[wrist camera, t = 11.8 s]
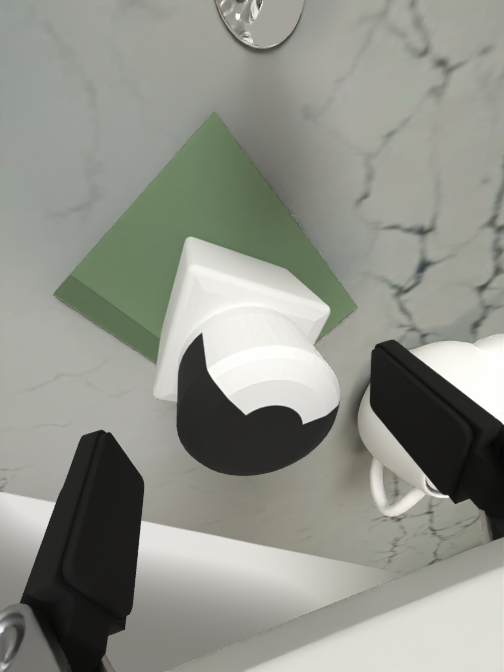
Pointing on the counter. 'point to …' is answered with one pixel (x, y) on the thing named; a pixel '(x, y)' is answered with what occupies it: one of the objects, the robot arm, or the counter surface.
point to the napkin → (200, 222)
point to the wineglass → (260, 20)
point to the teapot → (461, 371)
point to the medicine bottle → (244, 362)
